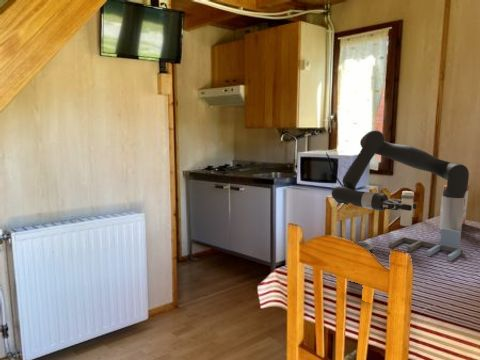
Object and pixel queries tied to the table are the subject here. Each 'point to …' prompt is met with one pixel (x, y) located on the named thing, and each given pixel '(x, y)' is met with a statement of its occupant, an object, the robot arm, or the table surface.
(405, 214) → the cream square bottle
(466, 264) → the table surface
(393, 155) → the robot arm
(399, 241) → the cable comb
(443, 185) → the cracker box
